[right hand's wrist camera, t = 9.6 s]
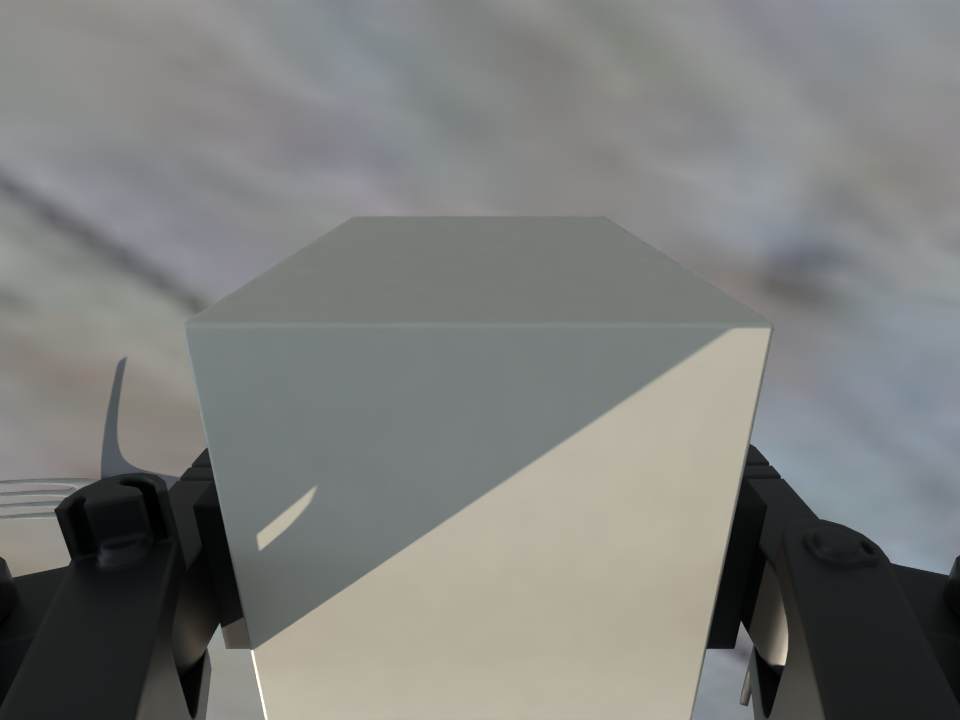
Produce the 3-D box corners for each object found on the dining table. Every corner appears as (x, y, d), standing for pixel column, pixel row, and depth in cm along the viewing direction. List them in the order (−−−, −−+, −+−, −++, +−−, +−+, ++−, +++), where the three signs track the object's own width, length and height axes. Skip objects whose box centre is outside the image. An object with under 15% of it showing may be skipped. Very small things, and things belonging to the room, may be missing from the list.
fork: (330, 594, 30) (320, 625, 28) (23, 497, 27) (-10, 523, 26) (345, 559, 29) (336, 588, 27) (29, 455, 27) (-5, 479, 25)
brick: (352, 216, 14) (178, 323, 6) (606, 216, 14) (778, 323, 6) (375, 495, 17) (283, 812, 9) (582, 495, 17) (673, 810, 9)
